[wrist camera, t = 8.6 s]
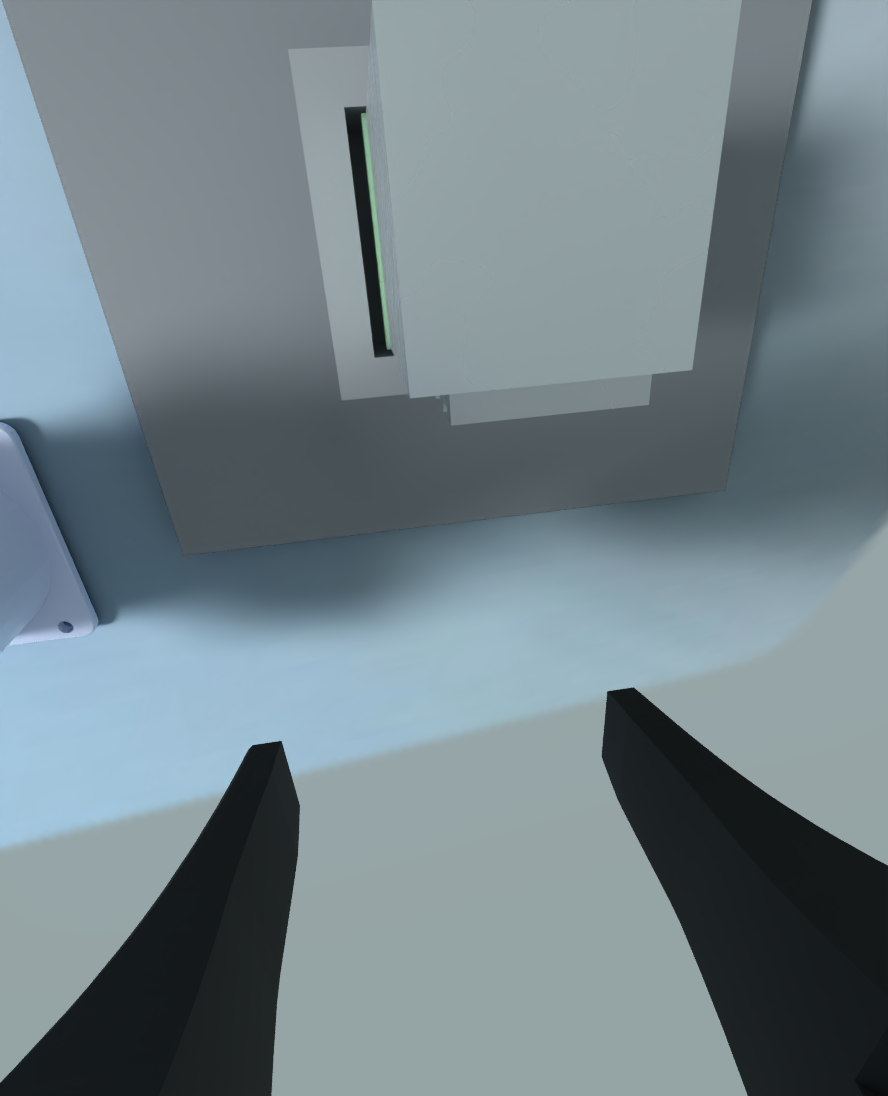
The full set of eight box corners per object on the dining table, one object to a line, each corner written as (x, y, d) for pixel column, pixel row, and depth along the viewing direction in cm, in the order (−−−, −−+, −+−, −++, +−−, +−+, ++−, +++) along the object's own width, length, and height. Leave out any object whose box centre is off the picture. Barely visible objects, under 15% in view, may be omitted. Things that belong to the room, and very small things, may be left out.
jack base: (190, 543, 20) (152, 607, 17) (-45, -203, 12) (-232, -419, 8) (710, 481, 22) (783, 526, 18) (823, -207, 14) (1000, -385, 10)
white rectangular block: (387, 360, 15) (407, 432, 8) (360, 125, 12) (364, -10, 6) (556, 344, 15) (692, 401, 9) (561, 114, 13) (751, -23, 7)
